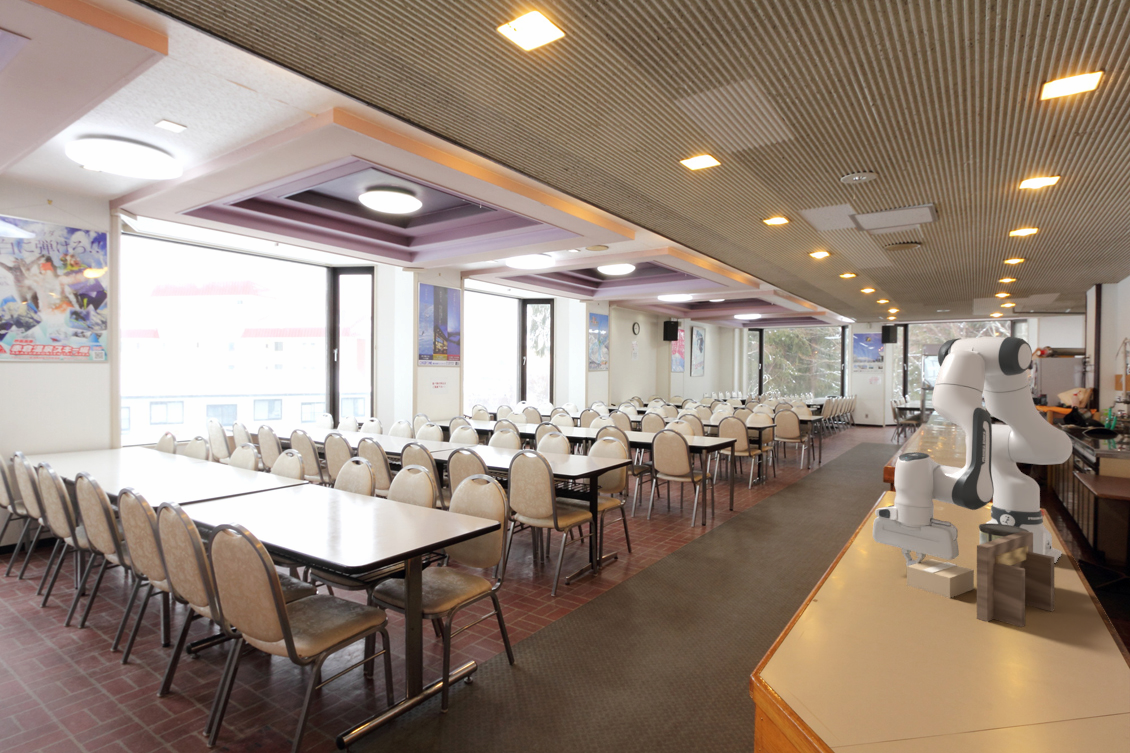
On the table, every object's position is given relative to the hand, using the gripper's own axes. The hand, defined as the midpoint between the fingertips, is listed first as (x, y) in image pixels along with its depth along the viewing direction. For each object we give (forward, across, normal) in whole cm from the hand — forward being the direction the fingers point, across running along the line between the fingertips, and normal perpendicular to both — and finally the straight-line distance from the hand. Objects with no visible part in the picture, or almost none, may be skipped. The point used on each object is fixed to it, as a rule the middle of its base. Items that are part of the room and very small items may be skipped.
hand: (913, 567), depth 150 cm
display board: (+3, -24, +2) cm, 24 cm away
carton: (+3, -6, 0) cm, 7 cm away
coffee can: (+3, -13, -18) cm, 23 cm away
